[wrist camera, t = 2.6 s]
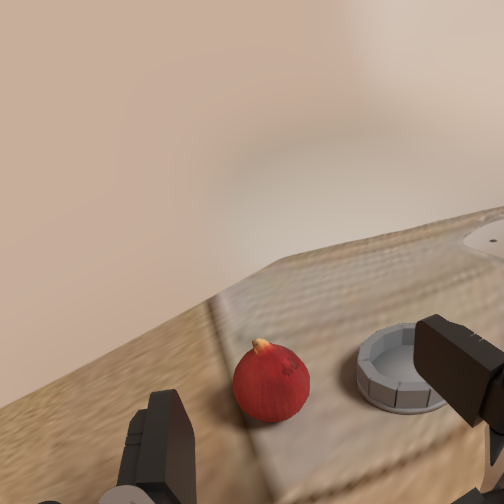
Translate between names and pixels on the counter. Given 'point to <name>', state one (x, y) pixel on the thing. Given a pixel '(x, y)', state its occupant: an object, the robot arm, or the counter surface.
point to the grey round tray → (394, 373)
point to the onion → (270, 382)
